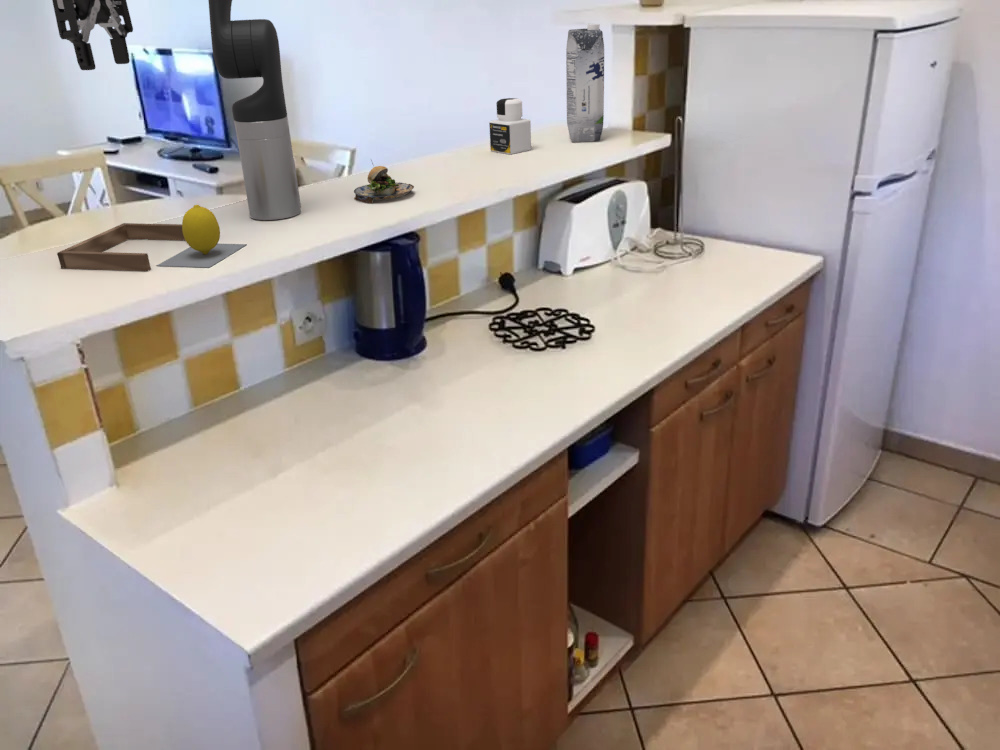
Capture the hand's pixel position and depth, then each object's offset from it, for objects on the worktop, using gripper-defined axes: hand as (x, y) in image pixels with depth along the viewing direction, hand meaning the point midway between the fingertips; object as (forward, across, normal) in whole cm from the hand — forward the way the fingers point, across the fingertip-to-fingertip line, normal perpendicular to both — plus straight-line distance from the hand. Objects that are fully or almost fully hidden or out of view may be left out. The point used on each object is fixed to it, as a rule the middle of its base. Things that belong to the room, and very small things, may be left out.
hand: (105, 66), depth 130 cm
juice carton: (+28, -96, +62) cm, 118 cm away
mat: (+28, +5, +14) cm, 32 cm away
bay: (+28, +5, +2) cm, 29 cm away
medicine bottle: (+28, -81, +46) cm, 97 cm away
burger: (+29, -35, +30) cm, 54 cm away
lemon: (+28, +5, +14) cm, 32 cm away
